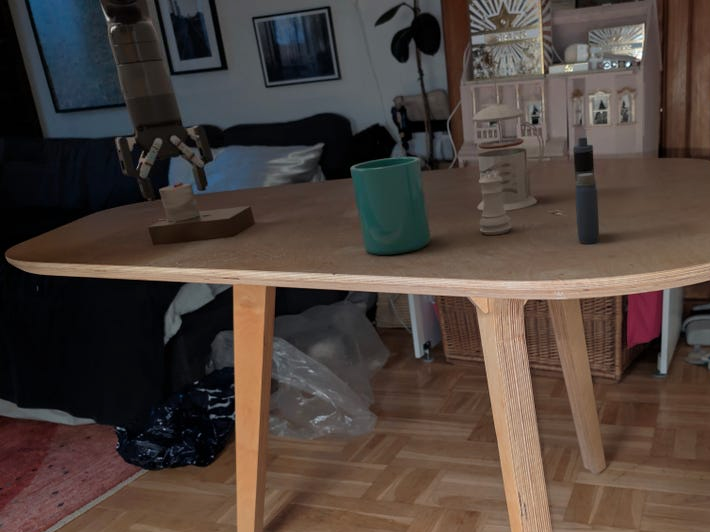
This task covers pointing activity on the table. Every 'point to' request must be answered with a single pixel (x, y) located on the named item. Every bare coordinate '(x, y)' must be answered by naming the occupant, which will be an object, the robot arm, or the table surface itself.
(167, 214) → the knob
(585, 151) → the vaping device
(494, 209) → the rook chess piece
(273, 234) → the table surface
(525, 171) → the french press
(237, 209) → the panel
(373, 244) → the cup
